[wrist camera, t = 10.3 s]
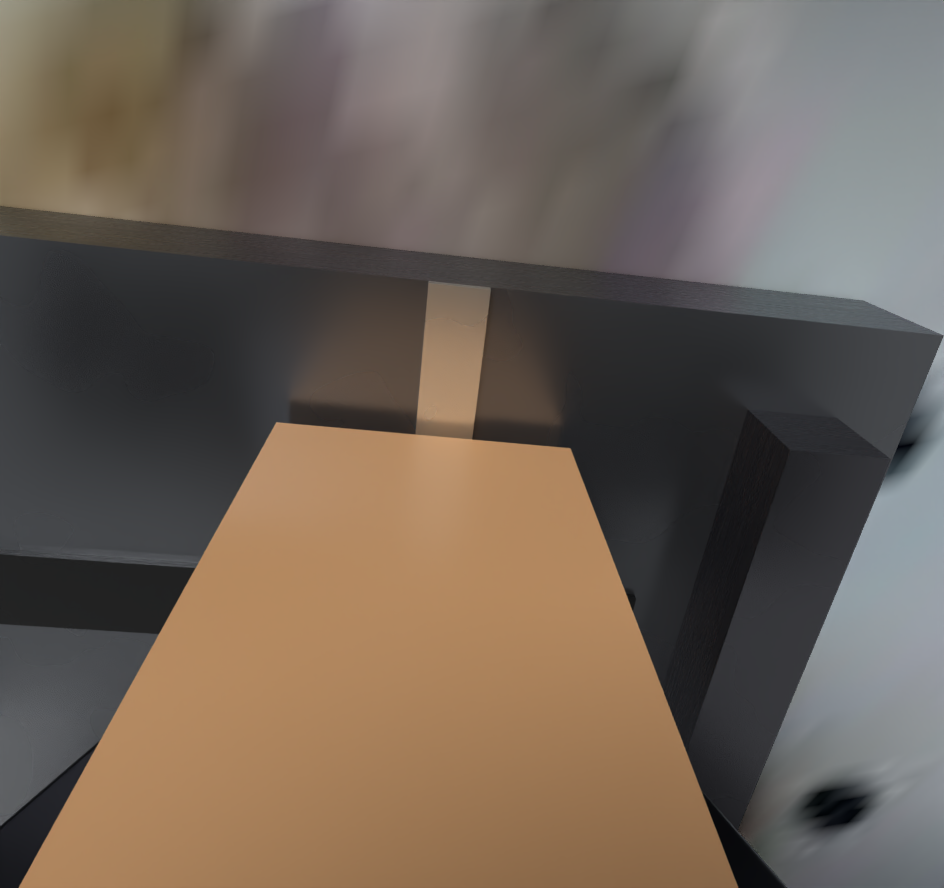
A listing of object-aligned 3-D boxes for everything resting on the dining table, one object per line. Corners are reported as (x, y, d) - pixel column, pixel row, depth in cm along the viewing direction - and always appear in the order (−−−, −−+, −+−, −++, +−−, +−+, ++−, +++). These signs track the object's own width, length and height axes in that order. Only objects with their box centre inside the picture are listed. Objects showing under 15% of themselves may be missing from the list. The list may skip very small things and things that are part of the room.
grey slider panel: (590, 1063, 16) (613, 1219, 14) (-242, 1052, 15) (-368, 1223, 12) (863, 300, 8) (1016, 366, 6) (-819, 116, 7) (-1426, 115, 5)
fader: (505, 782, 9) (567, 1455, 5) (279, 770, 9) (100, 1471, 4) (570, 447, 7) (805, 1069, 2) (276, 422, 7) (-79, 1059, 2)
